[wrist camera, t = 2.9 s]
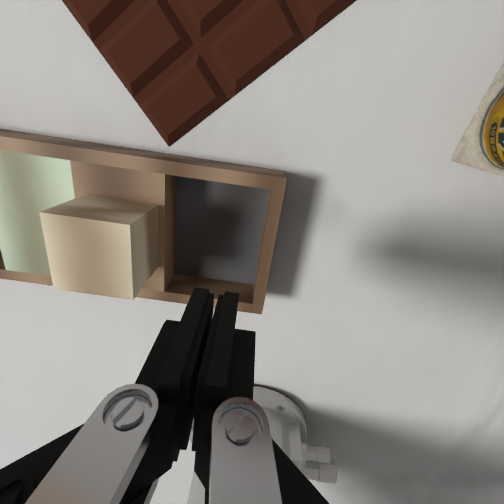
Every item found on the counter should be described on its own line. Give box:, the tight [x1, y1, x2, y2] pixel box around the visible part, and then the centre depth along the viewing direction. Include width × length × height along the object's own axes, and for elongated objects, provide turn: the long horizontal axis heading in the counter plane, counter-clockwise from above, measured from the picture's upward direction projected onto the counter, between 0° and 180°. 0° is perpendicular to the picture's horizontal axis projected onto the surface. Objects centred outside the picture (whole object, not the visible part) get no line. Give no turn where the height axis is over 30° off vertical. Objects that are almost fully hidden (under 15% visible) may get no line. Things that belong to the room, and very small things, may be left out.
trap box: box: [0, 129, 287, 314], centre depth 20 cm, size 26×10×3 cm, turn 82°
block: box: [39, 194, 158, 300], centre depth 17 cm, size 4×4×4 cm
